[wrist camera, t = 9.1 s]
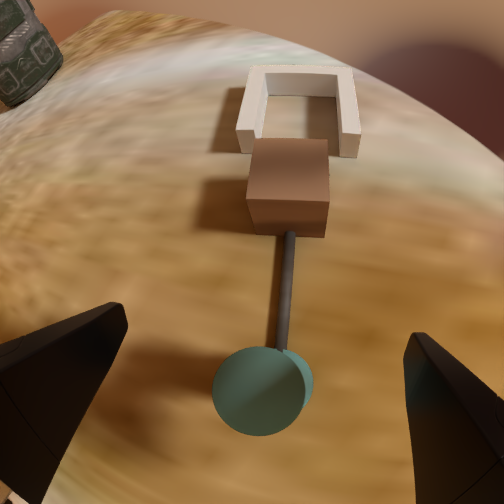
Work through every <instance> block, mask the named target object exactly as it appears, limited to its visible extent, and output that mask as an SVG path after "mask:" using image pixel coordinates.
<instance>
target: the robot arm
mask: <svg viewBox="0 0 504 504" xmlns="http://www.w3.org/2000/svg"><path fill="white" fill-rule="evenodd" d="M127 330H128V322H127V318H126V314H125V310H124V307H123V305H122V304H121V303H116V302H109V303H106V304H104V305H101V306H98V307H96V308H93V309H91V310H88V311H86V312H83V313H80V314H78V315H75V316H73V317H70V318H68V319H65V320H62V321H60V322H57V323H55V324H52V325H50V326H47V327H45V328H42V329H39V330H37V331H34V332H32V333H29V334H27V335H26V336H21V337H19V338H16V339H14V340H11V341H8V342H6V343H3V344H0V504H12V502H11V501H10V500H9V499H8V497H9V495H10V494H11V492H12V491H14V492H15V493H16V494H17V495H19V496H20V497H21V498H22V499H24V500H25V501H26V502H28V503H29V504H41V503H42V501H43V498H44V496H45V494H46V492H47V490H48V487H49V485H50V483H51V481H52V479H53V477H54V475H55V472H56V470H57V468H58V466H59V464H60V461H61V460H62V458H63V456H64V454H65V452H66V450H67V448H68V446H69V444H70V442H71V440H72V438H73V436H74V434H75V432H76V430H77V428H78V426H79V424H80V422H81V420H82V418H83V417H84V415H85V413H86V411H87V409H88V407H89V405H90V404H91V402H92V400H93V398H94V396H95V394H96V393H97V391H98V389H99V387H100V385H101V384H102V382H103V380H104V378H105V376H106V375H107V373H108V371H109V369H110V367H111V366H112V363H113V361H114V359H115V357H116V355H117V352H118V350H119V348H120V346H121V343H122V341H123V339H124V337H125V335H126V332H127ZM403 364H404V378H405V397H406V408H407V415H408V422H409V430H410V438H411V446H412V455H413V466H414V478H415V493H416V504H504V400H503V399H502V398H500V397H499V396H498V397H497V394H496V393H495V392H494V391H493V390H491V389H490V388H489V387H488V386H487V385H486V384H485V383H484V382H482V381H481V380H480V379H479V378H478V377H477V376H476V375H474V374H473V373H472V372H471V371H470V370H469V369H468V368H466V367H465V366H464V365H463V364H462V363H461V362H459V361H458V360H457V359H456V358H455V357H454V356H452V355H451V354H450V353H449V352H448V351H447V350H445V349H444V348H443V347H442V346H441V345H439V344H438V343H437V342H436V341H435V340H433V339H432V338H431V337H430V336H429V335H427V334H426V333H424V332H413V333H412V334H411V336H410V338H409V341H408V344H407V347H406V350H405V353H404V357H403Z"/></svg>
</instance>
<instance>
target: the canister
mask: <svg viewBox="0 0 504 504" xmlns="http://www.w3.org/2000/svg"><path fill="white" fill-rule="evenodd" d="M34 10H35V9H34V7H33V5H32V4H31V2H30V0H0V99H1V101H2V102H4V104H5V105H6V106H12V105H14V104H17V103H19V102H21V101H23V100H27V99H29V98H30V97H31V96H33V95H34V94H35V93H36V92H38V91H39V90H40V89H41V88H42V87H43V86H44V85H45V84H46V83H47V82H48V81H47V80H48V79H49V78H50V77H51V76H52V75H53V74H54V73H55V71H56V70H57V69H59V68H60V66H61V65H62V63H63V55H62V54H61V53H60V50H59V48H58V47H57V45H56V43H55V42H54V40H53V38H52V37H51V35H50V34H49V32H48V30H47V29H46V27H45V26H44V25H43V24H42V23H40V21H39V20H38V18H37V16H36V15H35V13H34Z"/></svg>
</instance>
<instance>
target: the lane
mask: <svg viewBox="0 0 504 504" xmlns="http://www.w3.org/2000/svg"><path fill="white" fill-rule="evenodd" d="M268 95H291V96H320V97H336V103H337V117H338V133H339V154H340V157H350V158H357V154H358V149H359V144H360V138H361V128H360V120H359V113H358V106H357V99H356V93H355V87H354V81H353V75H352V70H351V68H345V67H332V66H312V65H258V66H251V69H250V73H249V77H248V81H247V85H246V89H245V93H244V97H243V101H242V105H241V109H240V113H239V117H238V121H237V126H236V134H237V137H238V141H239V145H240V148H241V152H242V153H252V152H253V145H254V139H255V138H261V135H262V129H263V123H264V117H265V111H266V104H267V98H268Z"/></svg>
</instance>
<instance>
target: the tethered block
mask: <svg viewBox="0 0 504 504" xmlns="http://www.w3.org/2000/svg"><path fill="white" fill-rule="evenodd" d="M246 202H247V205H248V208H249V211H250V215H251V218H252V221H253V225H254V228H255V231H256V235H277V236H284V246H283V259H282V271H281V283H280V294H279V305H278V316H277V326H276V336H275V346H274V349H272V348H268V347H249V348H245V349H242V350H239V351H237V352H236V353H234V354H232V355H231V356H229V357H228V358H227V359H226V360H225V361H224V362H223V363H222V364H221V366H220V367H219V369H218V370H217V372H216V374H215V377H214V380H213V385H212V398H213V402H214V405H215V408H216V410H217V412H218V414H219V415H220V417H221V418H222V419H223V421H224V422H225V423H226V424H228V425H229V426H230V427H231V428H233V429H235V430H236V431H238V432H241V433H244V434H247V435H252V436H266V435H271V434H274V433H277V432H279V431H281V430H283V429H285V428H286V427H288V426H289V425H290V424H291V423H292V422H293V421H294V420H295V419H296V418H297V416H298V415H299V413H300V412H301V410H302V408H303V407H304V406H305V405H306V404H307V402H308V401H309V399H310V397H311V394H312V390H313V376H312V373H311V370H310V368H309V366H308V364H307V363H306V362H305V361H304V360H303V359H302V358H301V357H300V356H299V355H297V354H296V353H294V352H291V351H289V350H287V340H288V329H289V318H290V306H291V294H292V281H293V267H294V252H295V236H299V237H321V238H324V236H325V230H326V223H327V216H328V209H329V202H330V198H329V159H328V140H326V139H297V138H255V139H254V145H253V152H252V159H251V166H250V172H249V179H248V186H247V193H246Z"/></svg>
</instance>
